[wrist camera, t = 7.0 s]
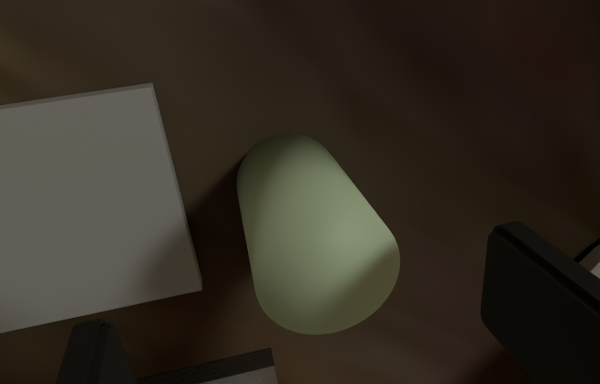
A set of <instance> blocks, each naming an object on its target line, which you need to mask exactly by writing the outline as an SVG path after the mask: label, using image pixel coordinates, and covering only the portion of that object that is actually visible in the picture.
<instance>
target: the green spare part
mask: <svg viewBox="0 0 600 384" xmlns="http://www.w3.org/2000/svg"><path fill="white" fill-rule="evenodd" d="M236 187H237V194H238V200H239V205H240V211H241V216H242V222H243V227H244V233H245V238H246V243H247V249H248V254H249V260H250V265H251V271H252V276H253V282H254V287H255V292H256V296H257V299H258V302H259V304H260V306H261V308H262V309H263V310H264V312H265V313H266V314H267V315H268V316H269V318H270V319H272V320H273V321H274V322H275V323H277V324H278V325H280V326H282V327H284V328H286V329H288V330H291V331H294V332H298V333H303V334H316V335H318V334H328V333H333V332H337V331H341V330H344V329H347V328H349V327H352V326H354V325H356V324H358V323H360V322H361V321H363V320H364V319H366V318H367V317H369V316H370V315H371V314H373V313H374V312H375V311H376V310H377V309H378V308H379V307H380V306H381V305H382V304H383V303H384V301H385V300H386V299H387V298H388V296H389V294H390V293H391V291H392V289H393V287H394V285H395V283H396V280H397V277H398V273H399V268H400V254H399V249H398V245H397V243H396V240H395V238H394V236H393V235H392V233H391V232H390V230H389V229H388V228H387V226H386V225H385V224H384V222H383V221H382V220H381V219H380V217H379V216H378V215H377V213H376V212H375V211H374V210H373V208H372V207H371V206H370V204H369V203H368V202H367V201H366V199H365V198H364V197H363V195H362V194H361V193H360V192H359V190H358V189H357V188H356V186H355V185H354V184H353V183H352V181H351V180H350V179H349V177H348V176H347V175H346V174H345V172H344V171H343V170H342V168H341V167H340V166H339V165H338V163H337V162H336V161H335V159H334V158H333V157H332V156H331V154H330V153H329V152H328V150H327V149H326V148H325V147H324V146H323V145H322V144H320V143H319V142H318V141H316V140H314V139H313V138H310V137H308V136H305V135H301V134H295V133H286V134H279V135H275V136H272V137H269V138H267V139H265V140H263V141H261V142H260V143H258V144H257V145H256V146H254V147H253V148H252V149H251V150H250V151H249V152H248V154H247V155H246V156H245V158H244V159H243V161H242V163H241V165H240V167H239V170H238V174H237V180H236Z"/></svg>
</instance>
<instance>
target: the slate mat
mask: <svg viewBox="0 0 600 384" xmlns="http://www.w3.org/2000/svg"><path fill="white" fill-rule="evenodd" d="M200 290H202V277H201V273H200V269H199V265H198V261H197V257H196V253H195V249H194V246H193V242H192V238H191V234H190V230H189V226H188V222H187V218H186V214H185V210H184V206H183V202H182V198H181V194H180V190H179V186H178V182H177V178H176V174H175V170H174V166H173V162H172V158H171V154H170V151H169V147H168V143H167V139H166V135H165V131H164V127H163V123H162V119H161V115H160V111H159V107H158V103H157V99H156V95H155V91H154V87H153V83H147V84H140V85H134V86H127V87H120V88H114V89H107V90H100V91H93V92H87V93H80V94H73V95H67V96H60V97H53V98H46V99H40V100H33V101H26V102H20V103H13V104H6V105H0V333H3V332H8V331H13V330H17V329H22V328H27V327H31V326H36V325H41V324H45V323H50V322H55V321H60V320H64V319H69V318H74V317H78V316H83V315H88V314H92V313H97V312H102V311H107V310H111V309H116V308H121V307H125V306H130V305H135V304H139V303H144V302H149V301H153V300H158V299H163V298H168V297H172V296H177V295H182V294H186V293H191V292H196V291H200Z"/></svg>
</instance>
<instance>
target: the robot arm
mask: <svg viewBox="0 0 600 384" xmlns="http://www.w3.org/2000/svg"><path fill="white" fill-rule="evenodd" d="M481 318H482V321H483V323H484V325H485V326H486V327H487V328H488V330H489V331H490V332H491V333H492V334H493V335H494V336H495V338H496V339H497V340H498V341H499V342H500V343H501V344H502V346H503V347H504V348H505V349H506V350H507V351H508V352H509V354H510V355H511V356H512V357H513V358H514V359H515V360H516V362H517V363H518V364H519V365H520V366H521V367H522V368H523V370H524V371H525V372H526V373H527V374H528V375H529V377H530V378H531V379H532V380H533V381H534V382H535V383H536V384H600V244H599V245H598V246H596V247H595V248H594V249H593V250H592V251H591V252H590V253H589V254H587V255H586V256H585V257H584V258H583V259H582V260H581V261H580V262H579V263H577V262H576V261H575V260H573V259H572V258H570V257H569V256H568V255H566V254H565V253H563V252H562V251H561V250H559V249H558V248H556V247H555V246H554V245H552V244H551V243H549V242H548V241H547V240H545V239H544V238H543V237H541V236H540V235H538V234H537V233H536V232H534V231H533V230H531V229H530V228H529V227H527V226H526V225H524V224H523V223H521V222H519V221H514V222H510V223H506V224H502V225H497V226H495V227H494V229H493V232H492V233H490V234H489V236H488V243H487V253H486V263H485V272H484V282H483V292H482V302H481ZM56 384H138V383H137V380H136V378H135V375H134V373H133V370H132V368H131V365H130V362H129V360H128V357H127V355H126V352H125V350H124V347H123V344H122V342H121V339H120V337H119V334H118V332H117V329H116V327H115V325H114V323H109V324H106V322H105V321H104V320H103V319H97V320H93V321H89V322H84V323H80V324H76V325H75V326H74V327H73V329H72V332H71V335H70V339H69V342H68V345H67V349H66V352H65V355H64V358H63V362H62V365H61V368H60V371H59V375H58V378H57V381H56Z"/></svg>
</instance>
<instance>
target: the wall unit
mask: <svg viewBox="0 0 600 384" xmlns="http://www.w3.org/2000/svg"><path fill="white" fill-rule="evenodd" d="M137 383H138V384H278V383H277V377H276V372H275V367H274V361H273V356H272V351H271V348H269V349H265V350H261V351H256V352H252V353H248V354H244V355H239V356H235V357H231V358H227V359H222V360H218V361H214V362H210V363H205V364H201V365H197V366H193V367H188V368H184V369H180V370H176V371H171V372H167V373H163V374H159V375H154V376H150V377H146V378H142V379H137Z"/></svg>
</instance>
